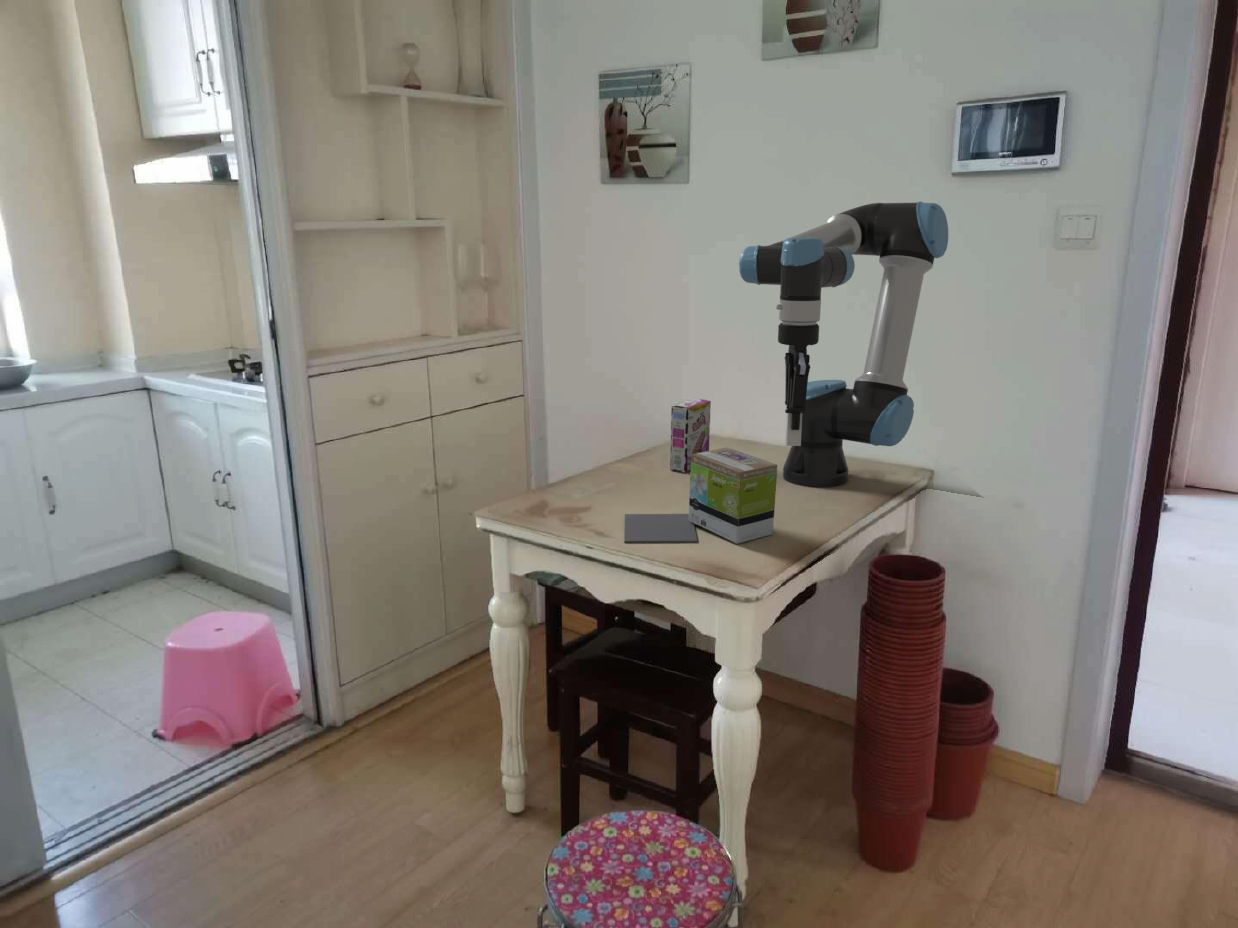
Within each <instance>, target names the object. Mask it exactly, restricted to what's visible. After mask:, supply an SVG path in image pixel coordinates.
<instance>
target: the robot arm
mask: <svg viewBox="0 0 1238 928" xmlns="http://www.w3.org/2000/svg"><path fill="white" fill-rule="evenodd" d="M948 244H949V225H948V218H947V215H946V213H945V211H944V209H943V207H942V206H941V205H940V204H938V203H936V202H923V201H917V202H884V203H883V202H873V203H868V204H863V205H859V206H857V207H854V208H851V209H847V210H845V211H842V212H840V213H837V214H834V215H832V216H831V217H830V218H828V219H827V221H826V222H824V224H822V225H819V226H816V227H814V228H811V229H809V230H806V231H804V232H801V233H799V234H796V235H793V236H790V237H787V238H786V239H783V240H780V241H778V242H775V243H772V244H769V245H760V244H759V245H752V246H746V248H744V249H743V251H742V252H741V255H740V258H739V262H738V267H739V274H740V277H741V279H742V280H743V281H744V282H745V283H747V284H757V285H758V286H760V285H775V286H780V289H779V291H780V292H779V293H780V294H779V303H780V304H776V307H775V308H776V310H777V311H779V312H778V314H779V315H778V320H780V321H781V322H780V323H779V325H778V326H777V327H778V328H777V329H778V331H777V332H778V333H777V342H778V343H779V344H781V345H784V346H788V350H787V351H788V352H785V356H784V360H785V361H784V363H785V394H784V395H785V396H784V397H785V398H784V400H785V401H784V404H785V407H786V409H784V412H785V414H786V423H785V425H786V426H785V427H786V428H785V445H786V447H790V449H789V452H788V454H787V458H786V459H785V462H784V465H783V469H782V478H783V479H784V480H786V481H788V482H789V483H792V484H795V485H801V486H807V487H817V488H818V487H834V486H840V485H844V484H845V483H847V482H848V480H849V474H850V473H849V472H850V471H849V466H848V464H847V461H846V456H845V452H844V449H843V441H849V442H856V443H862V444H868V445H873V446H874V447H875V446H877V447H878V446H883V447H893V446H896V445H898V444H899V443H900V442H902V440H903V439H904V438H905V436H906V435H907V433H908V431H909V430H910V426H911V424H912V421H913V417H914V412H915V410H914V406H915V403H914V400H913V398H912V397H911V396H909V395H908V392H909V388H908V386H907V385H906V383H905V382H904V375H905V371H906V366H907V365H906V364H907V361H908V355H909V351H910V345H911V340H912V335H913V330H914V324H915V321H916V315H917V312H918V311H917V310H918V305H919V300H920V295H921V290H922V285H923V280H924V276H925V274H926V273H927V272H929V271H930V270H932V269H933V267H934V262H935V259H939V258H942V257H943V256H944V255H945V253H946V252H947V249H948ZM854 255H855V256H857V255H858V256H877V257H879V260H878V262H879V264H880V265H881V267H882V268H883V274H882V278H881V282H880V283H881V284H880V288H879V293H878V299H877V304H876V308H875V313H874V319H873V324H872V329H871V335H870V338H869V345H868V349H867V355H866V359H865V364H864V370H863V373H862V374H861V375H860V376H859V377H857V378H856V379H855V380H854V383H853V388H848V385H847V383H846V380H842V379H822V380H821V379H820V380H813V381H809V375H810V370H811V364H810V359H811V358H810V356H811V355H810V354H808V346H815V345H817V344H818V343H819V339H820V338H819V337H820V336H819V335H820V325H819V324H818V323H817V322H819V321H820V320H821V306H822V299H821V298H822V296H821V295H822V288H837V287H840V286H842V285H844V284H846V283H847V282H848V281H850V280H851V278H852V277H853V275H854V272H855V265H856V264H855V260H854Z"/></svg>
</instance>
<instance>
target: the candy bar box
mask: <svg viewBox="0 0 1238 928" xmlns="http://www.w3.org/2000/svg"><path fill="white" fill-rule="evenodd" d="M711 402H712V401H711V400H708V399H702V398H701V399H699V398H693V399H692V398H691V399H690V400H686V401H681V402H678V403H676V404H672V405H671V410H670V411H671V412H670V413H671V415H670V416H671V418H670V423H671V424H670V461H669V463H670V464H669V465H670V466H669V467H670V468H669V470H670V471H672V472H677V473H682V474H687V473H689V472H690V473H691V454H696V453H701V452H706V451H710V430H711V428H710V426H711V404H712V403H711Z"/></svg>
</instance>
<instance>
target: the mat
mask: <svg viewBox="0 0 1238 928" xmlns="http://www.w3.org/2000/svg"><path fill="white" fill-rule="evenodd" d="M623 534H624V539H623V541H624V542H623V543H624V544H651V543H652V544H655V543H656V544H657V543H658V544H661V543H662V544H664V543H665V544H667V543H668V544H674V543H675V544H676V543H678V544H680V543H681V544H683V543H685V544H687V543H688V544H689V543H695V544H696V543H698V538H697V532H696V527H695V523H692V522H689V513H624V533H623Z"/></svg>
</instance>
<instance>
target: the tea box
mask: <svg viewBox="0 0 1238 928" xmlns="http://www.w3.org/2000/svg"><path fill="white" fill-rule="evenodd" d="M689 475H690V477H689V496H688V497H689V502H688V504H689V506H688V514H689V522H692V523H694V525H698V527H699V526H700V527H702V528H703V529H706V530H708V531H710V532H712V533H714V534H716V535H718V536H720V537H723V538H724V539H726V540H729V541H730V542H732V543H734V544H737V545H738V544H742V543H746V542H749V541H753V540H756V539H760V538H765V537H768V536H770V535H773V532H774V521H775V520H774V519H775V509H776V508H775V507H776V506H775V505H776V495H777V494H776V491H777V478H778V477H777V475H778V464H776V463H773V462H771V461H768V460H764V459H762V458H758V457H757V456H754V455H749V454H747V453H744V452H742V451H739V450H735V449H733V448H730V447H726V446H725V447H722V448H718V449H711V450H709V451H706V452H701V453H696V454H691V471H690V474H689Z"/></svg>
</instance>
